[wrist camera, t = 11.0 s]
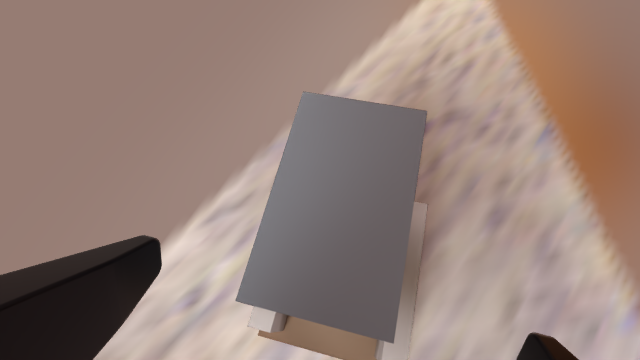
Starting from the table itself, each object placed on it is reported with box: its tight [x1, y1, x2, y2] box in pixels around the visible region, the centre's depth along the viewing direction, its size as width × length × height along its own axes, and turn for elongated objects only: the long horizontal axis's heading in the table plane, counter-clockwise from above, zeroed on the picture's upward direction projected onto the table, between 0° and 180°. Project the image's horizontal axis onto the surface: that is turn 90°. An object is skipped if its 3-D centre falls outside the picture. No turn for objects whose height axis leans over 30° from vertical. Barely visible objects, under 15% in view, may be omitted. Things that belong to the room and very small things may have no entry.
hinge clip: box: [248, 202, 428, 360], centre depth 16 cm, size 8×7×4 cm
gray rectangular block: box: [236, 92, 427, 344], centre depth 12 cm, size 6×3×12 cm, turn 166°
